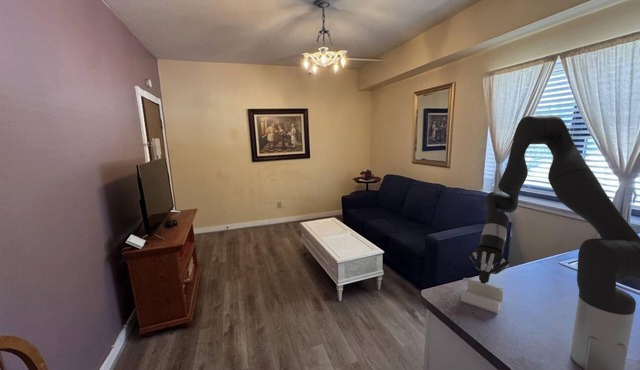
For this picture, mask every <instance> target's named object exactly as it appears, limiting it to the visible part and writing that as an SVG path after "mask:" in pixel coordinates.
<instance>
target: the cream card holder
mask: <svg viewBox="0 0 640 370" xmlns="http://www.w3.org/2000/svg"><path fill="white" fill-rule="evenodd" d="M503 299H504V290H502V291H498V290H494V289H491V288H488V287H484V286H481V285H478V284H474V283H471V282H468V281H467V286H466V290H461V293H460V302H461V303H465V304H467V305H470V306H473V307H476V308H478V309H481V310H484V311H488V312H490V313H493V314H496V315H498V314H499V312H500V309H501V307H502V303H503Z"/></svg>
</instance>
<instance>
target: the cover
mask: <svg viewBox="0 0 640 370" xmlns="http://www.w3.org/2000/svg"><path fill="white" fill-rule="evenodd" d="M462 280H463V281H465V282H467V283H468V282H471V283H474V284H478V285H481V286H484V287H488V288H491V289H494V290H498V291H504V287H500V286H497V285H493V284H491V283H487V282H486V284H485V283H481V281H480V280H477V279H473V278H469V277H463V279H462Z"/></svg>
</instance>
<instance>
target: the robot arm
mask: <svg viewBox="0 0 640 370" xmlns="http://www.w3.org/2000/svg"><path fill="white" fill-rule="evenodd" d="M571 135H572V134H571V133H570V131H569V129H568V127H567V125H566V123H565V121H564V120H563V119H562V118H561V117H560V116H558V115H555V114H534V115H526V116H524V117H522V118H521V119H520V121H519V122H518V123H517V126H516V128H515V131H514V136H513V139H512V143H511V147H510V149H509V150H510V151H509V156H508V160H507V163H506V166H505V169H504V171H503V174H502V175H501V178H500V179H499V182H498V185H497V187H498V190H500V191H501V192H500V191H497V190H496V191H493V190H492V191H490V192H489V193H488V194H487V195H486V198H485V206H486V220H485V223H484V227H483V230H482V232H481V236H480V240H479V241H480V242H479V245H478V248H477V249H476V251H474V252H468V255H469V258H470V261H472V263H473V265H474V266H475V269H476V270H478V271H479V275H478V281H480V282H481V283H485V284H486V283H487V284H489V281H490V277H491V275H497V274H499V273H501V272H503V271H504V270H506V269H507V268H509V267H510V262H509V261H507V260H506V259H505V257H504V249H505V244H506V241H507V231H508V230H507V229H508V226H509V222H510V220H509V216H508V215H507V214H505V213H509V214H510V213H513V212H515V211H516V210H517V208H518V204H519V195H520V191H521V189H522V188H523V185H524V184H525V182H526V181H527V177H528V175H529V174H528V173H529V170H528V165H527V162H526V157H525V156H526V152H527V150H528V148H529V146H530V145H544V146H546V147H547V148H548V149H549V151H550V153H551V155H552V162H551V164H550V167H549V171H548V175H547V176H548V177H547V179H548V182H549V184H550V186H551V189H552V190H553V191H554V192H553V193H554V194H555V197H557V199H558V201H559V202H561V203H562V204H563V205H564V206H565V207H567V209H569V210H571V212H573V213H575V214H576V215H578V216H579V217H581V218H582V219H584V220H585V221H587V222H588V223H589V224H590V225H591V226H592V227H593V228H594V229H595V231H596V232H597V234H598V235H599V236H600V238H589V239H586V240H584V241H583V242H582V243H581V245H580V246H579V250H578V254H577V268H576V269H577V271H576V272H577V273H576V282H577V283H576V284H577V288H578V298H577V305H576V312H575V319H574V327H573V333H572V341H571V342H572V343H571V347H570V357H571V359H572V360H573V362H574V363H576V365H577V366H579V367H581V368H582V369H583V370H626V369H625V368H626V367H625V366H626V362H627V356H628V351H629V345H630V344H629V343H630V339H631V333H632V329H633V323H634V318H635V312H636V306H637V302H636V299H635V297H633V296H632V295H631V294H629V292H627V291H624V290H622V289H621V288H619V287H617V280H640V236H639V234H638V233H637V232H636V231H635V230H634V228H633V227H632V226H631V225H630V224H629V222H628V221H627V220H626V219H625V218H624V216H623V215H622V214H621V213H620V211H619V209H617V207H616V206H615V204H614V203H613V201H612V200H611V199H610V197H609V196H608V194H607V193H606V191H605V189H604V188H603V186H602V184H601V183H600V181H599V180H598V178H597V177H596V175H595V174H594V172H593V170H592V169H591V168H590V167H589V165H588V164H587V162H586V160H584V158H583V156H582V154H581V152H580V151H579V150H578V147H577V145H576V144H575V142H574V139H573V137H572V136H571ZM503 212H504V213H503ZM477 257H478V259H479V261H480V264H479V263H478V261H477ZM499 263H500V264H499ZM497 264H498V265H497ZM494 266H495V267H494Z"/></svg>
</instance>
